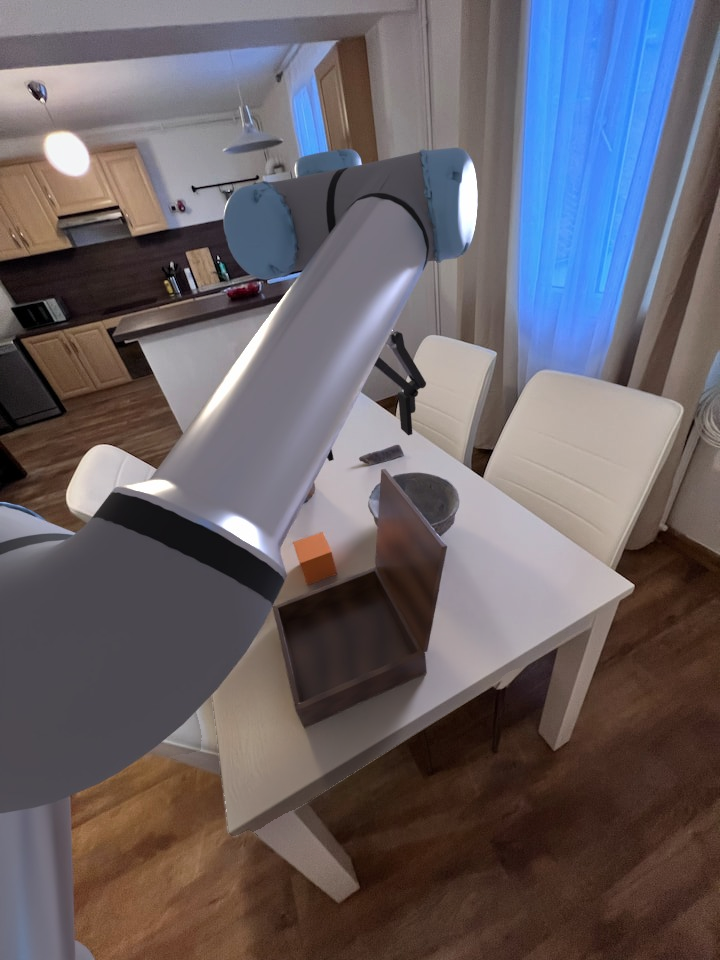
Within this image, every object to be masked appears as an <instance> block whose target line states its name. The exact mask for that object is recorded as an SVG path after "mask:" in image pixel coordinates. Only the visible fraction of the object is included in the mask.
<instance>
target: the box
mask: <svg viewBox="0 0 720 960" xmlns="http://www.w3.org/2000/svg"><path fill="white" fill-rule="evenodd" d="M272 611H273V616H274V620H275V624H276V629H277V634H278V638H279V642H280V643H279V644H280V646H281V647H280V648H281V651H282V657H283V660H284V666H285V669H286V674H287V678H288V683H289V687H290V691H291V696H292V702H293V706H294V710H295V713H296V715H297V717H298V719H299V721H300V723H301V725H302V727H303V728H304V729H306V728H308V727H310V726H312V725H315V724H317V723H319V722H322V721H323V720H326V719H328V718H330V717H332V716H334V715H336V714H339V713H341V712H343V711H346V710H347V709H350V708H352V707H355V706H357V705H360V704H362V703H363V702H367V701H368V700H370V699H372V698H374V697H376V696H378V695H382V694H383V693H385V692H387V691H390V690H392V689H394V688H397V687H398V686H401V685H403V684H406V683H407V682H410V681H413V680H414V679H416V678H418V677H421V676H423V675H425V674H427V673H428V672H427V671H428V670H427V659H426V652H424V653H423V652H422V650H421V648H420V646H419V644H418V643H417V641H416V639H415V637H414V635H413V633H412V632H411V630H410V628H409V626H408V624H407V622H406V621H405V619H404V617H403V615H402V613H401V611H400V610H399V608H398V606H397V604H396V602H395V600H394V599H393V597H392V595H391V593H390V591H389V589H388V588H387V586H386V584H385V582H384V580H383V578H382V577H381V575H380V573H379V571H378V569H377V568H376V566H374V567H372V568H369V569H367V570H363V571H361V572H359V573H355V574H353V575H351V576H348V577H346V578H343V579H340V580H338V581H335V582H332V583H330V584H327V585H324V586H322V587H319V588H317V589H315V590H312V591H309V592H306V593H304V594H301V595H298V596H295V597H293V598H290V599H288V600H285V601H282V602H280V603H278V604H273V606H272Z"/></svg>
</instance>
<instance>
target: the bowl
mask: <svg viewBox="0 0 720 960" xmlns="http://www.w3.org/2000/svg"><path fill="white" fill-rule="evenodd" d="M392 478H393V479H394V480H395V481H396V483H397V484H398V485H399V486H400V488H401V489H402V490H403V491H404V493H405V494H406V495H407V496H408V498H409V499H410V500H411V501H412V503H413V504H414V505H415V506H416V508H417V509H418V510H419V511H420V513H421V514H422V515H423V516H424V518H425V519H426V520H427V521H428V523H429V524H430V525H431V526H432V528H433V529H434V530H435V531H436V533H437V534H438V535H439V536H440V537H441V536H443V535H444V534H445V533H447V531H449V530H450V529H451V527H452V526H453V525H454V523H455V521H456V520H455V519H456V514H457V511H458V510H459V508H460V496H459V492H458V489H457V488H456V487H455V486H454V485H453V484H452V482H451V481H449V480H448V479H446V478H444V477H442V476H439V475H435V474H432V473H426V472H420V471H414V472H404V473H403V472H402V473H398V474H395V475H393V476H392ZM379 498H380V482H379V483H378V484H376V485H375V487H374V488H373V489H372V490H371V493H370V494H369V496H368V503H367V504H368V505H367V506H368V510H369V512H370V514H371V515H372V517H373V520H374V524H375V526H376V527H377V528H378V514H379Z"/></svg>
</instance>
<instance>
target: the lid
mask: <svg viewBox="0 0 720 960" xmlns="http://www.w3.org/2000/svg"><path fill="white" fill-rule="evenodd" d="M380 470H381V471H380V481H379V483H380V498H379V514H378V527H377V528H376V529H377V531H376V548H375V560H374V561H375V564H374V567H376V568H377V569H378V571H379V573H380V575H381V577H382V578H383V580H384V582H385V584H386V586H387V588H388V589H389V591H390V593H391V595H392V597H393V599H394V600H395V602H396V604H397V606H398V608H399V610H400V611H401V613H402V615H403V617H404V619H405V621H406V622H407V624H408V626H409V628H410V630H411V632H412V633H413V635H414V637H415V639H416V641H417V643H418V644H419V646H420V648H421V650H422V652H423V653H427V652H428V651H429V645H430V641H431V640H430V639H431V633H432V629H433V624H434V618H435V613H436V609H437V602H438V596H439V593H440V586H441V583H442V576H443V570H444V566H445V560H446V556H447V550H448V545H447V544H446V543H445V542H444V540H443V538H442V537H441V536H439V535H438V534H437V533H436V531H435V530H434V529H433V528H432V526H431V525H430V524H429V523H428V521H427V520H426V519H425V518H424V516H423V515H422V514H421V513H420V511H419V510H418V509H417V508H416V506H415V505H414V504H413V503H412V501H411V500H410V499H409V498H408V496H407V495H406V494H405V493H404V491H403V490H402V489H401V488H400V486H399V485H398V484H397V483H396V481H395V480H394V479H393V478H392V477H393V476H392V475H391V473H389V471H388V470H387V468H381V469H380Z"/></svg>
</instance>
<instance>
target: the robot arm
mask: <svg viewBox="0 0 720 960" xmlns="http://www.w3.org/2000/svg"><path fill="white" fill-rule="evenodd" d="M294 175H295V177H293V178H288V179H282V180H276V181H267V180H266V181H265V180H263V181H262V180H261V181H259V182H256V181H255V182H253V184H249V185H245V186H241V187H239V188H237V189H236V190H235V191H234V192H233V193H232V194H230V196H229V198H228V200H227V201H226V204H225V207H224V210H223V211H224V212H223V231H224V235H225V240H226V242H227V245H228V249H229V251H230V253H231V255H232V257H233V259H234V260H235V261H236V263H237V264H238V265H239V266H240V268H241V269H242V270H243V271H245V272H246V273H247V274H248V275H251V276H252V277H253V278H256V279H258V280H272V279H276V278H285V277H288V276H289V275H290V274H292V273H294V272H299V271H301V272H300V273H299V274H298V276H297V277H296V279H295V280H294V281H293V283H292V284H291V286H290V287H289V288H288V290H287V291H286V293H285V294H284V295H283V296H282V298H281V299H280V301H279V302H278V303H277V305H276V306H275V307H274V309H273V310H272V311H271V313H270V314H269V315H268V317H267V318H266V320H265V321H264V322H263V324H262V325H261V326H260V328H259V330H258V331H257V332H256V333H255V335H254V336H253V337H252V338H251V340H250V342H249V343H248V345H247V346H246V347H245V349H244V350H243V351H242V353H241V354H240V355H239V357H238V358H237V359H236V361H235V362H234V364H232V366H231V367H230V369H229V370H228V371H227V373H226V374H225V375H224V376H223V379H222V380H221V381H220V383H219V384H218V385H217V387H216V388H215V389H214V391H212V394H210V396H209V398H208V399H207V400H206V402H205V403H204V404H203V406H202V407H201V408H200V409H199V411H198V413H197V414H196V415H195V417H194V418H193V420H191V422H190V423H189V425H188V426H187V428H186V429H185V430H184V432H183V433H182V435H181V436H180V437H179V438H178V440H177V441H176V443H174V446H173V447H172V448H171V449H170V451H169V452H168V453H167V455H166V456H165V457H164V459H163V460H162V462H161V463H160V464H159V465H158V467H157V469H156V470H155V472H153V474H152V476H151V477H150V478H148V479H146V480H144V481H141V482H136V483H132V484H125V485H120V486H116V487H114V488H113V490H112V491H111V492H110V493H109V494H108V496H107V497H106V498H105V500H104V501H103V502H102V504H101V505H100V506H99V508H98V509H97V511H95V513H94V514H93V516H91V518H90V519H89V520H88V521H87V522H86V523H85V525H83V527H82V528H81V529H79V530H78V531H77V532H73V531H71V530H69V529H66V528H65V527H64V528H63V526H60V525H56V524H54V523H51V522H49V521H46V520H45V518H44V517H42V516H41V515H39V514H38V513H36V512H35V511H33V510H30V509H29V508H27V507H24V506H21V505H18V504H13V503H9V502H5V501H0V960H96V959H95V957H94V955H93V954H92V952H91V951H90V950H89V948H88V947H86V946H85V945H84V944H83V943H81V942H80V941H79V940H76V932H75V899H74V898H75V897H74V896H75V895H74V867H73V839H72V838H73V837H72V836H73V835H72V833H73V832H72V806H71V805H72V804H71V797H72V796H73V795H76V794H78V793H81V792H83V791H85V790H87V789H90V788H92V787H95V786H97V785H100V784H101V783H103V782H105V781H107V780H108V779H110V778H112V777H113V776H116V775H117V774H120V773H121V772H122V771H124V770H125V769H127V768H128V767H130V766H131V765H133V764H134V763H135V762H137V761H138V760H140V759H142V758H143V757H144V756H145V755H147V754H149V753H150V752H151V751H153V750H154V749H155V748H157V747H158V746H159V745H161V744H162V743H163V742H164V741H165V740H166V739H167V738H168V737H170V736H171V735H172V734H173V733H175V732H177V730H178V729H180V728H181V727H182V726H184V724H185V723H186V722H187V721H188V720H189V719H190V718H191V717H192V716H193V715H194V714H195V713H196V712H197V711H198V710H199V709H200V708H201V707H202V706H203V705H204V704H205V702H206V701H207V700H208V699H210V698H211V697H212V695H213V694H214V693H216V691H218V689H219V688H220V687H221V685H222V684H223V683H224V681H225V680H226V679H227V677H228V676H230V674H231V672H232V671H233V670H234V668H235V667H236V666H237V664H238V663H239V662H240V661H241V659H243V657H244V656H245V654H246V653H247V652H248V650H249V648H250V647H251V645H252V644H253V642H254V641H255V639H256V637H257V636H258V634H259V632H260V631H261V629H262V628H263V626H264V625H265V623H266V620H267V618H268V616H269V615H270V613H271V610H272V609H273V607H272V606H274V605H275V603H276V600H277V599H278V597H279V595H280V592H281V591H282V588H283V586H284V584H285V582H286V580H287V577H288V573H287V570H286V567H285V563H284V560H283V557H282V553H281V548H282V546H283V544H284V542H285V540H286V538H287V536H288V534H289V532H290V530H291V528H292V526H293V524H294V522H295V520H296V519H297V516H298V515H299V513H300V511H301V509H302V506H303V505H304V503H305V502H304V501H305V499H306V497H307V495H308V493H309V491H310V489H311V487H312V485H313V483H315V482H316V480H317V478H318V476H319V474H320V472H321V470H322V468H323V466H324V464H325V462H326V460H328V462H331V461H334V460H335V459H334V455H333V447H334V445H335V442H336V441H337V438H338V437H339V435H340V433H341V431H342V429H343V427H344V425H345V423H346V421H347V419H348V417H349V416H350V414H351V411H352V409H353V408H354V405H355V404H356V402H357V400H358V398H359V396H360V394H361V392H362V390H363V388H364V387H365V384H366V383H367V381H368V378H369V376H370V375H371V372H372V371H373V369H374V368H377V369H378V370H379V371H380V372H381V373H383V374H384V375H385V376H386V377H387V378H388V379H390V381H392V382H393V383H394V384H395V385H396V386H398V387H399V388H400V389H401V390H402V391H398V392H397V400H398V409H399V419H400V420H399V422H400V430H401V431H403V432H404V433H405V434H406V435H408V437H409V436H412V435H413V424H412V423H413V422H412V421H413V420H412V414H413V413H415V412H416V397H417V396H418V395H419V390H420V389H424V388H426V386H427V382H426V380H425V378H424V377H423V375H422V373H421V372H420V370H419V368H418V367H417V365H416V364H415V361H414V360H413V358H412V356H411V355H410V353H409V352H408V350H407V348H406V346H405V341H404V336H403V333H402V332H400V331H398V330H397V329H395V328H394V327H395V326H396V324H397V322H398V320H399V318H400V316H401V314H402V313H403V310H404V308H405V306H406V304H407V302H408V301H409V299H410V297H411V295H412V293H413V291H414V289H415V287H416V285H417V283H418V281H419V279H420V277H421V276H422V273H423V272H424V270H425V268H426V266H427V264H428V262H436V263H438V264H439V263H441V262H443V261H445V260H453V259H457V258H460V257H461V256H463V255H465V254H466V252H467V251H468V249H469V247H470V245H471V243H472V240H473V237H474V232H475V229H476V228H475V227H476V221H477V212H478V211H477V210H478V186H477V184H478V183H477V175H476V170H475V166H474V163H473V160H472V158H471V157H470V154H469V153H468V152H467V151H466V150H465V149H463V148H460V147H448V148H439V149H437V148H436V149H425V148H422V149H419V151H417V152H413V153H409V154H404V155H400V156H399V155H398V156H395V157H391V158H386V159H385V158H384V159H382V160H381V159H380V160H376V161H372V162H367V163H363V164H362V158H361V156H360V155H359V153H358V152H357V151H356V150H354V149H351V148H343V149H337V150H336V149H335V150H334V149H333V150H327V151H322V152H321V151H320V152H316V153H312V154H307V155H304V156H301V157H299V158H297V160H296V161H295V163H294ZM436 263H435V264H436ZM385 345H386V347H387V348H390V349H391V350H392V352H393V354H394V356H395V357H396V359H397V360H398V362H399V363H400V366H401V367H402V368H403V370H404V371H405V373H406V374H407V376H408V378H409V382H408V381H407V380H406V379H404V378H403V376H402V375H400V374H399V373H398V372H396V371H395V370H394V369H393V368H392V367H391V366H390V365H389V364H388V363H387V362H386V361H384V360H383V359H382V358H381V357H380V356H381V354H382V352H383V350H384V348H385Z"/></svg>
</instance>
